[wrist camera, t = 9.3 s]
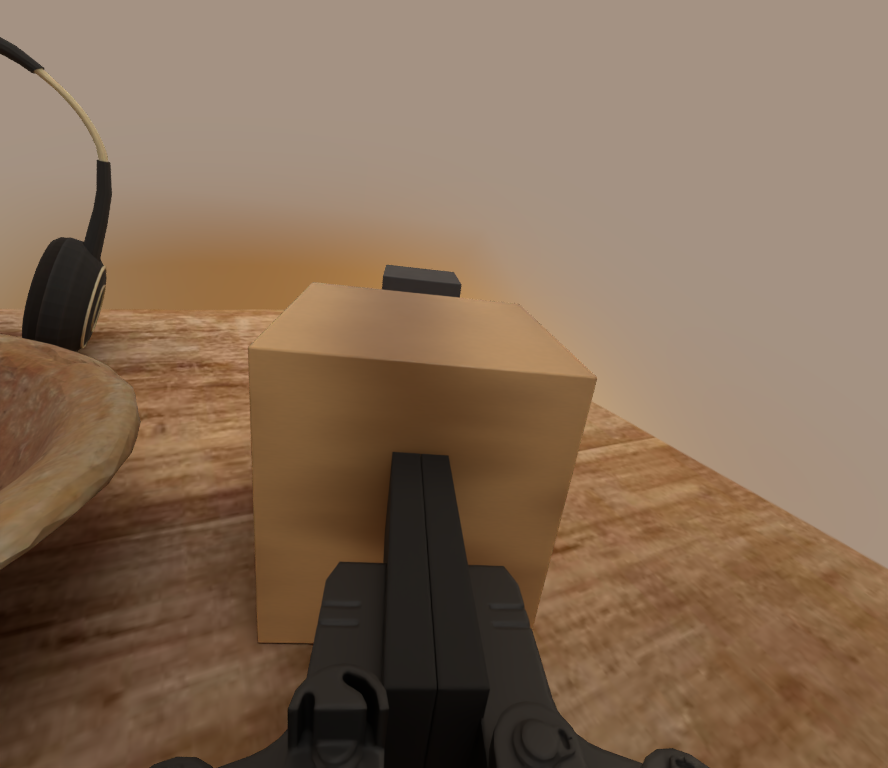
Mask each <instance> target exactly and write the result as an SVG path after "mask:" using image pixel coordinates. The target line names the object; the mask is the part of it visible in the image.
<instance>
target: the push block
mask: <svg viewBox="0 0 888 768" xmlns="http://www.w3.org/2000/svg"><path fill="white" fill-rule="evenodd" d="M248 364H249V394H250V425H251V455H252V486H253V516H254V547H255V577H256V607H257V638H258V642H259V643H314V638H315V633H316V628H317V625H318V618H319V613H320V608H321V603H322V597H323V592H324V587H325V582H326V579H327V578H328V576H329V575H330V574H331V572H332V571H333V570H334V568H335V567H336V566H337V564H338V563H339V562H367V563H383V556H384V537H385V525H386V514H387V504H388V493H389V483H390V472H391V462H392V452H403V453H418V454H420V456H421V454H433V455H449V461H450V466H451V472H452V478H453V483H454V489H455V494H456V500H457V506H458V511H459V517H460V523H461V528H462V534H463V539H464V545H465V551H466V556H467V562H468V565H490V566H504V567H505V568H506V569H507V571H508V572H509V573H510V574H511V576H512V577H513V578H514V579H515V581H516V582H517V583H518V585H519V588H520V592H521V595H522V598H523V602H524V605H525V610H526V612H527V615H528V618H529V622H530V628H533V624H534V621H535V617H536V613H537V609H538V605H539V601H540V597H541V594H542V590H543V586H544V582H545V578H546V574H547V570H548V566H549V563H550V559H551V555H552V551H553V547H554V543H555V539H556V536H557V532H558V528H559V524H560V520H561V516H562V512H563V509H564V505H565V501H566V497H567V493H568V489H569V485H570V482H571V478H572V474H573V470H574V466H575V462H576V458H577V455H578V451H579V447H580V443H581V439H582V435H583V431H584V427H585V424H586V420H587V416H588V412H589V408H590V404H591V400H592V397H593V393H594V389H595V385H596V381H597V377H596V376H595V375H594V374H593V373H592V372H591V371H590V370H589V369H588V368H586V366H584V365H583V364H582V363H581V362H580V361H579V360H578V359H577V358H576V357H575V356H574V355H573V354H572V353H571V352H570V351H569V350H568V349H566V348H565V347H564V346H563V345H562V344H561V343H560V342H559V341H558V340H557V339H556V338H555V337H554V336H553V335H551V334H550V333H549V332H548V331H547V330H546V329H545V328H544V327H543V326H542V325H541V324H540V323H539V322H538V321H537V320H536V319H535V318H533V317H532V316H531V315H530V314H529V313H528V312H527V311H526V310H525V309H524V308H523V307H522V306H521V305H520V304H515V303H505V302H495V301H486V300H477V299H467V298H458V297H448V296H439V295H429V294H420V293H410V292H401V291H391V290H382V289H372V288H363V287H362V288H361V287H353V286H344V285H334V284H325V283H316V282H313V283H312V284H311V285H310V286H309V287H308V288H307V289H306V290H305V291H304V292H303V293H302V294H301V295H300V296H299V297H298V298H297V299H296V300H295V301H294V302H293V303H292V304H291V305H290V306H289V307H288V308H287V309H286V310H285V311H284V312H283V313H282V314H281V315H280V316H279V317H278V318H277V319H276V320H275V321H274V322H273V323H272V324H271V325H270V326H269V327H268V328H267V329H266V330H265V331H264V332H263V333H262V334H261V335H260V336H259V337H258V338H257V339H256V340H255V341H254V342H253V343H252V344H251V345H250V346H249V347H248Z"/></svg>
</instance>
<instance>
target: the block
mask: <svg viewBox="0 0 888 768" xmlns="http://www.w3.org/2000/svg"><path fill="white" fill-rule="evenodd" d="M382 285H383V286H382V290H391V291H401V292H410V293H420V294H429V295H439V296H448V297H458V298H460V291H461V283H460V282H459V280H458V278H457V277H456V275H455V274H454V272H447V271H438V270H428V269H420V268H411V267H402V266H393V265H386V268H385V271H384V275H383V284H382Z"/></svg>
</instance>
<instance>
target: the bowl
mask: <svg viewBox="0 0 888 768" xmlns="http://www.w3.org/2000/svg"><path fill="white" fill-rule="evenodd" d="M140 422H141V421H140V417H139V413H138V407H137V402H136V396H135V393H134V390H133V387H132V386H131V385H129V384H128V383H127V382H126V381H125V380H124V379H123V378H121V377H120V376H119V375H118V374H117V373H116V372H115V371H113V370H112V369H111V368H110V367H109V366H107V365H106V364H104V363H102V362H100V361H98V360H96V359H94V358H91V357H88V356H85V355H82V354H80V353H77V352H74V351H71V350H68V349H64V348H61V347H58V346H55V345H51V344H47V343H43V342H38V341H34V340H29V339H24V338H19V337H14V336H9V335H3V334H0V570H1V569H2V568H4V567H5V566H7V565H8V564H10V563H11V562H13V561H14V560H16V559H17V558H19V557H20V556H22V555H23V554H25V553H26V552H28V551H29V550H30V549H32V548H33V547H34V546H35V545H37V544H38V543H39V542H41V541H42V540H43V539H44V538H46V537H47V536H48V535H50V534H51V533H52V532H53V531H55V530H56V529H57V528H59V527H60V526H61V525H62V524H63V523H65V522H66V521H67V520H68V519H69V518H70V517H71V516H72V515H74V514H75V513H76V512H77V511H78V510H79V509H80V508H82V507H83V506H84V505H85V504H86V503H87V502H88V501H89V500H91V499H92V498H93V497H94V496H95V495H96V494H97V493H98V492H100V491H101V490H102V489H103V488H104V487H105V486H106V485H107V484H108V483H109V482H110V480H111V479H112V478H113V476H114V475H115V473H116V472H117V471H118V469H119V468H120V467H121V465H122V464H123V463H124V462H125V460H126V459H127V458H128V457H129V455H130V454H131V453H132V450H133V447H134V444H135V441H136V439H137V435H138V431H139V427H140Z"/></svg>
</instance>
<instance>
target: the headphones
mask: <svg viewBox="0 0 888 768" xmlns="http://www.w3.org/2000/svg"><path fill="white" fill-rule="evenodd" d="M0 54H2V55H4V56H6V57H8V58H9V59H11V60H13V61H14V62H16V63H18V64H20V65H21V66H23V67H24V68H26V69H27V70H28V71H30V72H31V73H36V74H37V75H39V76H40V77H41V78H42V79H43V80H45V81H46V82H47V83H48V84H50V85H51V86H52V87H53V88H54V89H55V90H56V91H58V93H59V94H60V95H61V96H62V97H63V98H64V99H65V100H66V101H67V102H68V103H69V104H70V105H71V107H72V108H73V109H74V110H75V111H76V113H77V114H78V115H79V117H80V118H81V119H82V121H83V123H84V124H85V126H86V127H87V129H88V131H89V133H90V135H91V136H92V138H93V141H94V143H95V145H96V148H97V153H98V158H99V160H97V191H96V197H95V203H94V208H93V212H92V215H91V219H90V222H89V226H88V230H87V233H86V237H85V241H84V242H82V241H79V240H77V239H73V238H64V237H61V238H58V239H56V240H53V241H52V242H51V243H50V244H49V245H48V247H47V249H46V250H45V252H44V254H43V256H42V257H41V259H40V262H39V264H38V266H37V268H36V271H35V274H34V277H33V280H32V283H31V286H30V290H29V293H28V298H27V301H26V306H25V311H24V317H23V324H22V338H24V339H29V340H34V341H38V342H43V343H47V344H51V345H55V346H58V347H61V348H64V349H68V350H71V351H74V352H76V351H78V350H79V349H81V348H84V347H85V346H86V344H87V342H88V340H89V339H90V337H91V335H92V332H93V331H94V329H95V326H96V323H97V320H98V317H99V314H100V310H101V307H102V303H103V298H104V294H105V287H106V286H105V285H106V267H105V266H104V265H103V264H102V262H101V259H100V257H101V252H102V247H103V243H104V238H105V233H106V229H107V223H108V217H109V210H110V203H111V197H112V188H111V168H110V162H108V156H107V153H106V150H105V147H104V145H103V142H102V140H101V138H100V136H99V134H98V132H97V130H96V128H95V126H94V125H93V123H92V122H91V120H90V119H89V117H88V116H87V114H86V113H85V112H84V110H83V109H82V108H81V107H80V105H79V104H78V103H77V102H76V101H75V99H74V98H73V97H72V96H71V95H70V94H69V93H67V91H66V90H65V89H64V88H63V87H61V85H59V84H58V83H57V82H56V81H55V80H54V79H53V78H52V77H51V76H50V75H49V74H48V73H47V72H45V71H44V67H42V66H41V65H40V64H38V63H37V62H36V61H35V60H33V59H32V58H31V57H29V56H28V55H27V54H26V53H24V52H23V51H22V50H21V49H19V48H18V47H17V46H15V45H13V44H12V43H10V42H8V41H6V40H4V39H3V38H1V37H0Z"/></svg>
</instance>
